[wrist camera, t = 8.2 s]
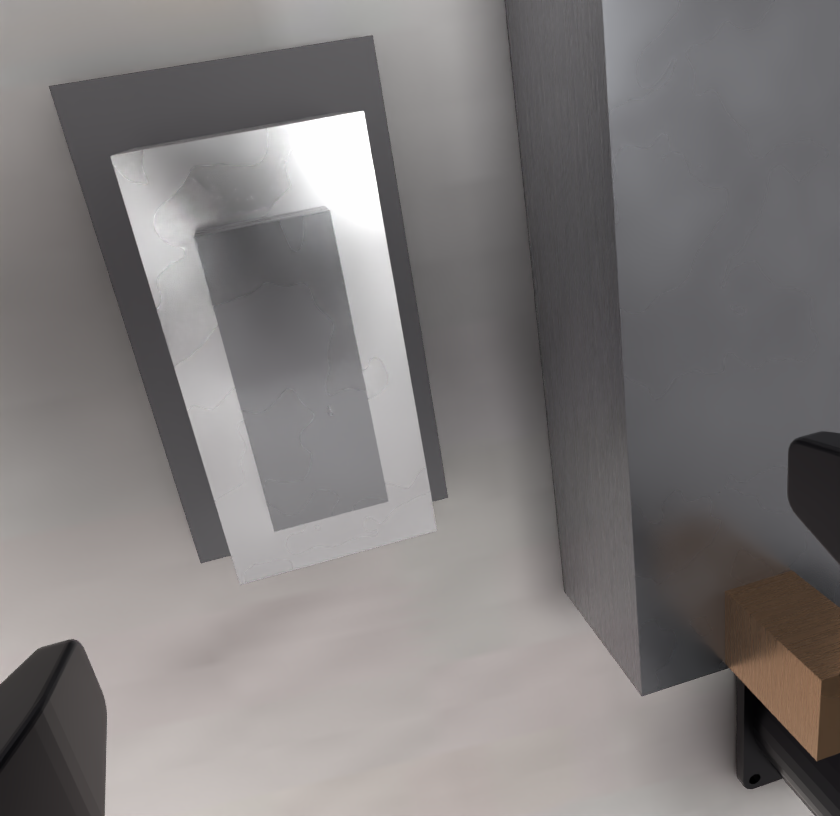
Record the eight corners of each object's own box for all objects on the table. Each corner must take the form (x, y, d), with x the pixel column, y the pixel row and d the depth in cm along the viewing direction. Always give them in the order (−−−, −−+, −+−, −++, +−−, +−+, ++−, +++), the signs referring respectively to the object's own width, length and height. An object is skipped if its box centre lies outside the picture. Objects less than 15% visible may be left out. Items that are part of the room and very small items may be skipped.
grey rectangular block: (399, 459, 21) (447, 548, 17) (235, 502, 20) (241, 606, 16) (333, 113, 18) (371, 110, 13) (133, 148, 17) (104, 157, 12)
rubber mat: (440, 485, 23) (448, 497, 22) (201, 548, 21) (200, 563, 21) (366, 38, 18) (372, 35, 17) (56, 87, 17) (48, 86, 16)
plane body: (754, 535, 26) (978, 709, 18) (564, 591, 25) (720, 802, 17) (765, -267, 18) (1188, -564, 10) (480, -239, 17) (711, -551, 9)
